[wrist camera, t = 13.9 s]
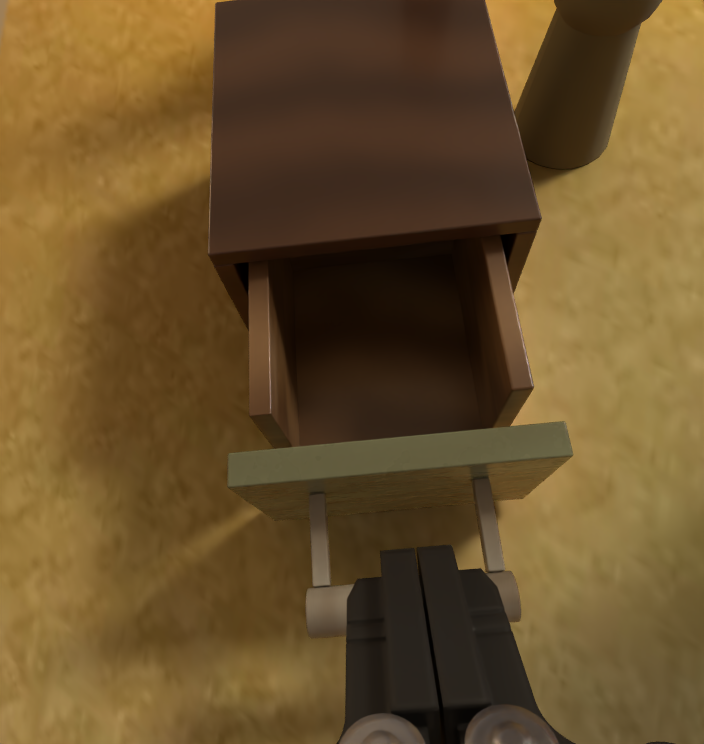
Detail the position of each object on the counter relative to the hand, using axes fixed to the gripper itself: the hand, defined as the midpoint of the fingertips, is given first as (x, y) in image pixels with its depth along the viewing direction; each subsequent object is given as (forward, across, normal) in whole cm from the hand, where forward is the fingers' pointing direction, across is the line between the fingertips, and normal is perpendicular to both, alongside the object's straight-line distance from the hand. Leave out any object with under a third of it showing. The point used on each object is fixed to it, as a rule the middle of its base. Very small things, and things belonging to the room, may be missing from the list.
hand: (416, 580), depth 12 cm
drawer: (+15, 0, +4) cm, 16 cm away
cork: (+28, -12, -8) cm, 32 cm away
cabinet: (+24, 0, -4) cm, 24 cm away
